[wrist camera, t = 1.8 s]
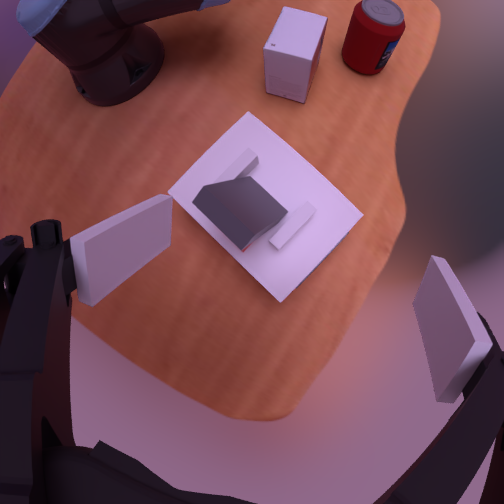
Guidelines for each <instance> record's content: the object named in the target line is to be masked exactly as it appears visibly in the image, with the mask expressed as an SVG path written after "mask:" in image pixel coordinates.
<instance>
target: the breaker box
mask: <svg viewBox="0 0 504 504" xmlns="http://www.w3.org/2000/svg"><path fill="white" fill-rule="evenodd" d="M247 176H251V177H252V178H253V179H254V180H255V181H256V182H257V183H258V184H259V185H260V186H262V187H263V188H264V189H265V190H266V191H267V192H268V193H269V194H270V195H271V196H272V197H273V198H274V199H276V200H277V201H278V202H279V203H280V204H281V205H282V206H283V207H284V208H285V209H286V210H287V211H288V213H287V214H286V215H285V216H284V217H283V218H282V220H281V221H280V222H279V223H278V224H277V225H275V226H274V227H272V228H271V229H270V230H268V231H267V232H266V233H264V234H263V235H262V236H260V237H259V238H258V239H256V240H255V241H254V242H252V243H251V244H249V245H248V246H247V247H245V248H244V249H243V250H240V249H239V248H238V247H237V246H236V245H235V244H234V243H233V242H232V241H231V240H230V239H229V238H228V237H227V236H226V235H225V234H224V233H223V232H221V231H220V230H219V229H218V228H217V227H216V226H215V225H214V224H213V223H212V222H211V221H210V220H209V219H208V218H207V217H206V216H205V215H204V214H203V213H202V212H201V211H200V210H199V209H198V208H197V207H196V206H195V205H194V204H193V203H192V201H193V200H194V198H195V197H196V196H197V194H198V193H199V191H200V190H201V189H202V187H203V186H205V185H209V184H214V183H218V182H223V181H228V180H233V179H238V178H242V177H247ZM168 193H169V194H170V195H171V196H173V198H174V199H175V200H176V201H177V202H178V203H179V204H180V205H181V206H182V207H183V208H184V209H185V210H186V211H187V212H188V213H189V214H190V215H191V216H192V217H193V218H194V219H195V220H196V221H197V222H198V223H199V224H200V225H201V226H202V227H203V228H204V229H205V230H206V231H207V232H208V233H209V234H210V235H211V236H212V237H213V238H214V239H215V240H216V241H217V242H218V243H219V244H220V245H221V246H222V247H223V248H224V249H226V250H227V251H228V252H229V253H230V254H231V255H232V256H233V257H234V258H235V259H236V260H237V261H238V262H239V263H240V264H241V265H242V266H243V267H244V268H245V269H246V270H247V271H248V272H249V273H250V274H251V275H252V276H253V277H254V278H255V279H256V280H257V281H258V282H259V283H260V284H261V285H263V286H264V287H265V288H266V289H267V290H268V291H269V292H270V293H271V294H272V295H273V296H274V297H275V298H276V299H277V300H278V301H279V302H280V303H281V302H282V301H283V300H284V299H285V298H286V297H287V296H288V295H289V294H290V293H291V292H292V291H293V290H294V289H295V288H297V287H298V286H299V285H300V284H301V283H302V282H303V281H304V280H305V279H306V278H307V277H308V276H309V275H310V274H311V273H312V272H313V271H314V270H315V269H316V268H317V267H318V265H319V264H320V263H321V262H322V261H323V260H324V259H325V258H326V257H327V256H328V255H329V254H330V253H331V252H332V251H333V250H334V248H335V247H336V246H337V245H338V244H339V243H340V242H341V241H342V240H343V239H344V238H345V236H346V235H347V234H348V233H349V232H348V231H349V230H350V229H351V228H352V227H353V226H354V225H355V224H356V223H357V221H358V220H359V219H360V218H361V217H362V216H363V214H362V213H361V212H360V211H359V210H358V209H357V208H356V207H355V206H354V205H353V204H352V203H351V202H350V201H349V200H348V199H347V198H346V197H345V196H344V195H343V194H342V193H341V192H340V191H339V190H338V189H337V188H336V187H334V186H333V185H332V184H331V183H330V182H329V181H328V180H327V179H326V178H325V177H324V176H323V175H322V174H321V173H320V172H318V171H317V170H316V169H315V168H314V167H313V166H312V165H311V164H310V163H309V162H307V161H306V160H305V159H304V158H303V157H302V156H301V155H300V154H299V153H297V152H296V151H295V150H294V149H293V148H292V147H291V146H289V145H288V144H287V143H286V142H285V141H284V140H282V139H281V138H280V137H279V136H278V135H277V134H275V133H274V132H273V131H272V130H271V129H269V128H268V127H267V126H266V125H265V124H263V123H262V122H261V121H260V120H259V119H257V118H256V117H255V116H254V115H252V114H251V113H250V112H249V111H248V112H247V113H246V114H245V115H244V116H243V117H242V118H241V119H240V120H238V121H237V122H236V123H235V124H234V125H233V126H232V127H231V128H230V129H229V130H228V131H227V132H226V133H225V134H224V135H223V136H222V137H221V138H220V139H219V140H217V141H216V142H215V143H214V144H213V145H212V146H211V147H210V148H209V149H208V150H207V151H206V152H205V153H204V154H203V155H202V156H201V157H200V158H199V159H198V160H197V161H196V162H195V163H194V164H193V166H192V167H191V168H190V169H189V170H188V171H187V172H186V173H185V174H184V175H183V176H182V177H181V178H180V179H179V180H178V181H177V182H176V183H175V184H174V185H173V186H172V188H171V189H170V190H169V191H168Z"/></svg>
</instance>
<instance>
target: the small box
mask: <svg viewBox="0 0 504 504" xmlns="http://www.w3.org/2000/svg"><path fill="white" fill-rule="evenodd" d="M327 20H328V18H327V17H324V16H321V15H317V14H313V13H310V12H306V11H302V10H298V9H294V8H289V7H283V9H282V11H281V14H280V16H279V18H278V20H277V22H276V24H275V26H274V28H273V30H272V32H271V34H270V36H269V38H268V40H267V42H266V44H265V46H264V47H263V53H264V68H265V84H266V92H267V93H270V94H274V95H277V96H281V97H285V98H288V99H291V100H295V101H298V102H301V103H305V101H306V98H307V95H308V92H309V89H310V86H311V83H312V80H313V77H314V75H315V72H316V69H317V66H318V63H319V58H320V53H321V49H322V44H323V39H324V35H325V30H326V25H327Z"/></svg>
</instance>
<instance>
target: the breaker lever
mask: <svg viewBox="0 0 504 504" xmlns="http://www.w3.org/2000/svg"><path fill="white" fill-rule="evenodd" d="M192 203H193V204H194V205H195V206H196V207H197V208H198V209H199V210H200V211H201V212H202V213H203V214H204V215H205V216H206V217H207V218H208V219H209V220H210V221H211V222H212V223H213V224H214V225H215V226H216V227H217V228H218V229H219V230H220V231H221V232H223V233H224V234H225V235H226V236H227V237H228V238H229V239H230V240H231V241H232V242H233V243H234V244H235V245H236V246H237V247H238V248H239V249H240V250H243V249H244V248H245V247H247V246H248V245H249V244H251V243H252V242H254V241H255V240H256V239H258V238H259V237H260V236H262V235H263V234H264V233H266V232H267V231H268V230H270V229H271V228H272V227H274V226H275V225H277V224H278V223H279V222H280V221H281V220H282V218H283V217H284V216H285V215H286V214H287V213H288V211H287V210H286V209H285V208H284V207H283V206H282V205H281V204H280V203H279V202H278V201H277V200H276V199H274V198H273V197H272V196H271V195H270V194H269V193H268V192H267V191H266V190H265V189H264V188H263V187H262V186H260V185H259V184H258V183H257V182H256V181H255V180H254V179H253V178H252V177H251V176H247V177H242V178H238V179H233V180H228V181H223V182H218V183H214V184H209V185H205V186H203V187H202V189H201V190H200V191H199V193H198V194H197V196H196V197H195V198H194V200H193V201H192Z"/></svg>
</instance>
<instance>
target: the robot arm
mask: <svg viewBox="0 0 504 504" xmlns="http://www.w3.org/2000/svg"><path fill="white" fill-rule="evenodd" d="M229 1H230V0H20V2H19V4H18V7H17V12H16V16H17V20H18V22H19V23H20V24H21V25H22V27H23V28H24V29H25V30H26V31H27V32H28V35H29V36H31V37H33V38H34V39H35V40H36V41H37V42H38V43H40V44H41V45H42V46H43V47H44V48H46V49H47V50H48V51H49V52H50V53H51V54H53V55H54V56H55V57H56V58H57V59H58V60H60V61H61V62H62V63H63V64H64V65H66V66H67V67H68V68H69V70H70V73H71V76H72V78H73V81H74V83H75V86H76V88H77V90H78V92H79V93H80V94H81V95H82V96H83V97H84V98H85V99H86V100H88V101H89V102H90V103H92V104H95V105H99V106H111V105H115V104H119V103H121V102H124V101H126V100H128V99H130V98H132V97H134V96H135V95H137V94H138V93H139V92H141V91H142V90H143V89H144V88H145V87H146V86H147V85H148V84H149V83H150V82H151V81H152V80H153V79H154V77H155V76H156V75H157V73H158V71H159V70H160V68H161V65H162V62H163V59H164V47H163V44H162V42H161V40H160V38H159V37H158V35H157V33H156V32H155V31H154V30H153V29H151V28H150V27H148V26H146V25H145V24H143V23H145V22H148V21H152V20H156V19H159V18H163V17H167V16H171V15H175V14H179V13H184V12H188V11H193V10H197V11H201V10H203V9H204V8H208V7H212V6H217V5H222V4H225V3H228V2H229ZM172 199H173V196H169V195H163V194H159V195H157V196H154V197H152V198H150V199H148V200H146V201H143V202H141V203H139V204H137V205H135V206H133V207H130V208H128V209H126V210H124V211H122V212H120V213H118V214H116V215H114V216H112V217H110V218H108V219H106V220H104V221H102V222H100V223H98V224H96V225H94V226H92V227H90V228H88V229H86V230H84V231H82V232H80V233H78V234H76V235H74V236H72V237H71V238H70V239H68V240H66V241H64V242H63V238H62V229H61V222H60V221H58V220H54V219H48V220H42V221H39V222H36V223H34V224H33V225H32V226H31V227H30V228H31V236H32V242H33V248H25V247H24V241H23V237H21V236H17V235H15V236H13V235H9V236H6V237H5V238H3V239H1V240H0V504H256V503H252V502H248V501H244V500H241V499H237V498H234V497H231V496H222V495H212V494H203V493H195V492H189V491H182V490H178V489H176V488H174V487H172V486H171V485H169V484H168V483H167V482H165V481H164V480H163V479H161V478H160V477H158V476H157V475H156V474H154V473H153V472H152V471H150V470H149V469H148V468H147V467H145V466H144V465H143V464H142V463H140V462H139V461H138V460H136V459H134V458H132V457H130V456H128V455H126V454H124V453H122V452H120V451H118V450H117V449H115V448H113V447H111V446H109V445H107V444H105V443H103V442H102V441H100V440H99V442H98V443H97V444H96V446H95V447H94V448H93V449H92V448H87V447H82V446H76V444H75V441H74V438H73V432H72V419H71V402H70V362H69V361H70V357H69V356H70V325H71V309H72V297H71V292H72V291H74V290H75V289H76V288H77V293H78V299H79V301H80V302H82V303H84V304H87V305H89V306H91V307H93V306H94V305H96V304H97V303H98V302H99V301H100V300H102V299H103V298H104V297H105V296H107V295H108V294H109V293H110V292H111V291H113V290H114V289H115V288H116V287H118V286H119V285H120V284H121V283H123V282H124V281H125V280H126V279H128V278H129V277H130V276H131V275H133V274H134V273H135V272H137V271H138V270H139V269H140V268H142V267H143V266H144V265H145V264H147V263H148V262H149V261H151V260H152V259H153V258H154V257H156V256H157V255H158V254H160V253H161V252H162V251H164V250H165V249H166V248H168V247H169V246H170V245H171V221H172ZM4 282H5V285H6V289H5V288H4ZM413 307H414V310H415V314H416V317H417V321H418V324H419V328H420V332H421V335H422V339H423V343H424V347H425V351H426V355H427V359H428V364H429V368H430V373H431V377H432V381H433V387H434V392H435V397H436V401H437V402H445V403H454V402H455V400H456V399H457V398H458V396H459V395H460V394H461V392H463V396H464V401H463V402H462V403H461V405H460V406H459V407H458V409H457V410H456V411H455V412H454V414H453V415H452V416H451V417H450V419H449V421H448V422H447V424H446V425H445V427H444V428H443V429H442V430H441V431H440V433H439V434H438V435H437V437H436V438H435V439H434V440H433V441H432V443H431V444H430V445H429V446H428V447H427V448H426V450H425V451H424V452H423V453H422V454H421V455H420V457H419V458H418V459H417V460H416V461H415V462H414V463H413V464H412V466H410V468H409V469H408V470H407V471H406V472H405V473H404V474H403V475H402V476H401V477H400V478H399V479H398V480H397V481H396V482H395V483H394V484H393V485H392V486H391V487H390V488H389V489H388V490H387V491H386V492H385V493H384V494H383V495H382V496H381V497H380V498H378V500H376V501H375V502H374V503H373V504H457V502H458V501H459V499H460V498H461V496H462V495H463V493H464V492H465V490H466V489H467V487H468V486H469V484H470V482H471V481H472V479H473V478H474V476H475V474H476V473H477V471H478V469H479V468H480V465H481V464H482V462H483V460H484V459H485V457H486V455H487V453H488V451H489V449H490V448H491V446H492V444H493V442H494V440H495V438H496V440H495V445H494V450H493V455H492V459H491V463H490V467H489V471H488V475H487V479H486V482H485V486H484V489H483V492H482V496H481V499H480V502H479V504H504V351H502V350H501V349H500V346H499V345H498V342H497V341H496V339H495V337H494V335H493V333H492V331H491V329H490V328H489V325H488V323H487V322H486V320H485V319H484V318H483V317H482V316H481V315H480V314H479V313H478V312H476V310H475V309H474V307H473V305H472V303H471V302H470V300H469V298H468V296H467V295H466V293H465V291H464V289H463V288H462V286H461V284H460V283H459V281H458V279H457V278H456V276H455V275H454V273H453V271H452V270H451V268H450V266H449V265H448V263H447V262H446V260H445V259H444V258H440V257H436V256H432V255H431V258H430V261H429V263H428V266H427V269H426V271H425V274H424V277H423V279H422V282H421V284H420V287H419V289H418V292H417V295H416V297H415V299H414V302H413Z"/></svg>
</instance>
